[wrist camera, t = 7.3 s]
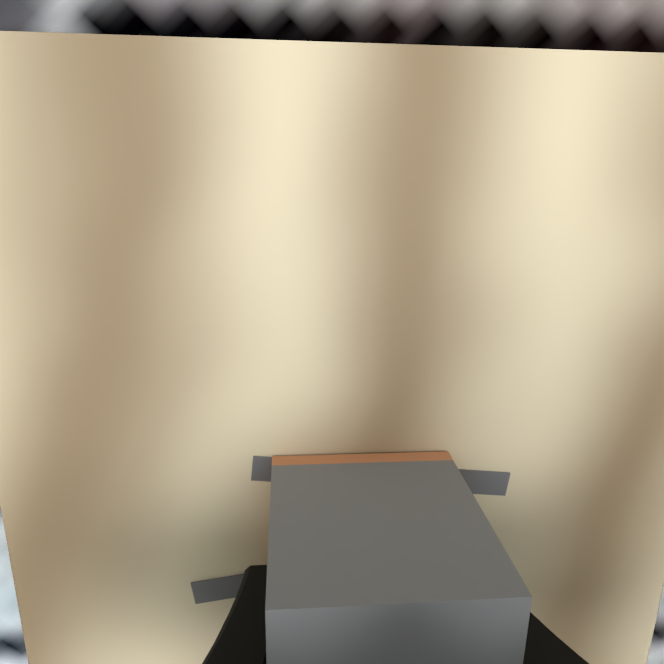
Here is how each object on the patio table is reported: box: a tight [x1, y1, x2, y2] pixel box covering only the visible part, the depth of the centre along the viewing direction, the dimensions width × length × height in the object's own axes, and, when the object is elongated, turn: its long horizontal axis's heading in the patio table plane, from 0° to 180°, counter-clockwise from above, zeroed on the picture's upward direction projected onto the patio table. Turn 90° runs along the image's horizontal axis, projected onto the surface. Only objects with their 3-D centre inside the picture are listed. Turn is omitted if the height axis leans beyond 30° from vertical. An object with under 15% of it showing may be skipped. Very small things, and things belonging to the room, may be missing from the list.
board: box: [0, 31, 664, 664], centre depth 14 cm, size 16×26×2 cm, turn 179°
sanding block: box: [265, 451, 532, 664], centre depth 11 cm, size 4×7×4 cm, turn 179°
